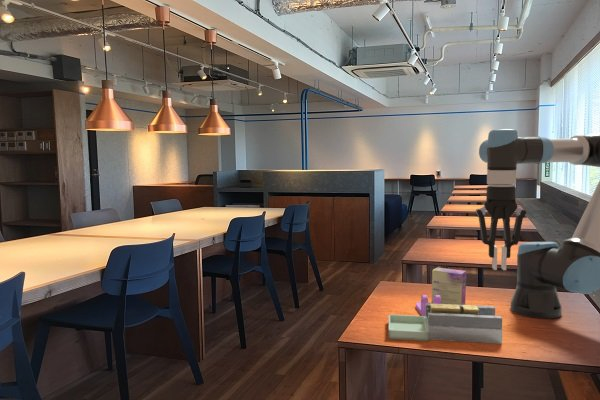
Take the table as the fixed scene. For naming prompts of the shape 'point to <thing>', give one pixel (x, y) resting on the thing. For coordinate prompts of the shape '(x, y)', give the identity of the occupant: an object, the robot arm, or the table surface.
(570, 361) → the table surface
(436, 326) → the channel
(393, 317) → the tray
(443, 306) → the khaki cube
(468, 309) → the beige cube
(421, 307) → the bracket
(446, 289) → the box
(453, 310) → the tan cube
